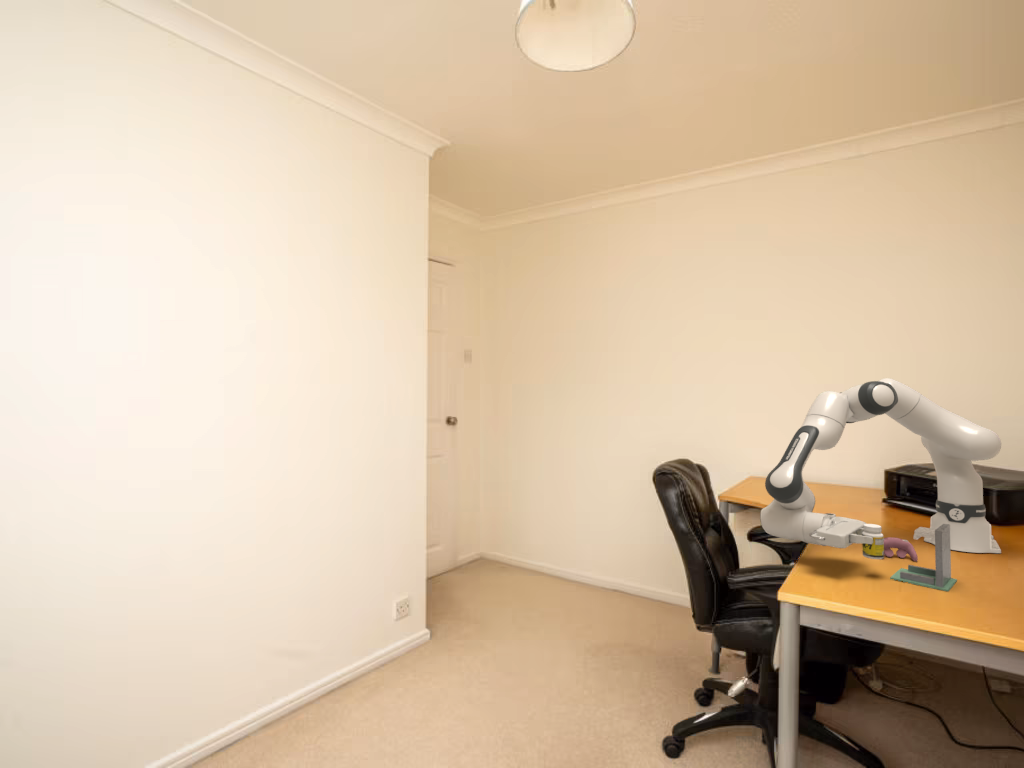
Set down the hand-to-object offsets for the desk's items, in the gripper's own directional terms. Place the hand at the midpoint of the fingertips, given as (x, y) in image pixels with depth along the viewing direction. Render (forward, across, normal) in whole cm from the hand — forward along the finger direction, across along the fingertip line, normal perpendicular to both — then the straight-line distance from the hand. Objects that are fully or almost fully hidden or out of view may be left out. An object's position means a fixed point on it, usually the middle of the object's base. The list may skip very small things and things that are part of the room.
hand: (876, 538), depth 142 cm
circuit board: (+9, +6, +10) cm, 15 cm away
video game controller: (-1, +23, +11) cm, 26 cm away
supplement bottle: (-1, 0, +5) cm, 5 cm away
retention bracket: (+9, +6, +10) cm, 15 cm away
